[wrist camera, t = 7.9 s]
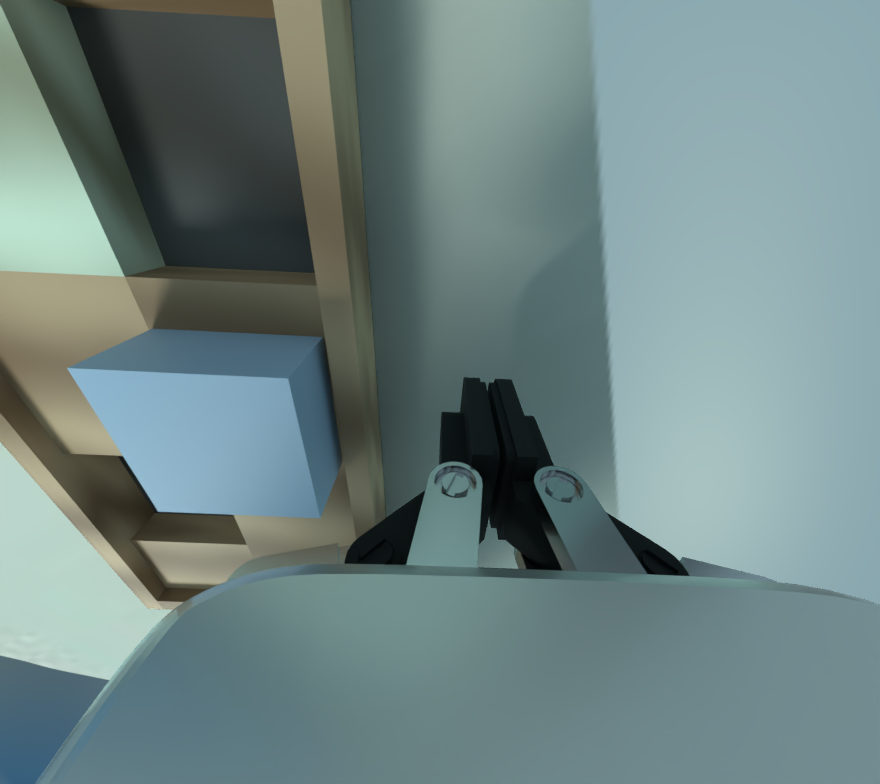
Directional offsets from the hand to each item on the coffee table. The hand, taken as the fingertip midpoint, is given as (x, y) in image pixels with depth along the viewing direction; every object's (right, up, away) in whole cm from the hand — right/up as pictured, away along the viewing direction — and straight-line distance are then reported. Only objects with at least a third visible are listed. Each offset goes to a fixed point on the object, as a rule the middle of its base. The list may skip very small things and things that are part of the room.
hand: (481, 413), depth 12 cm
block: (-9, 0, +1) cm, 9 cm away
